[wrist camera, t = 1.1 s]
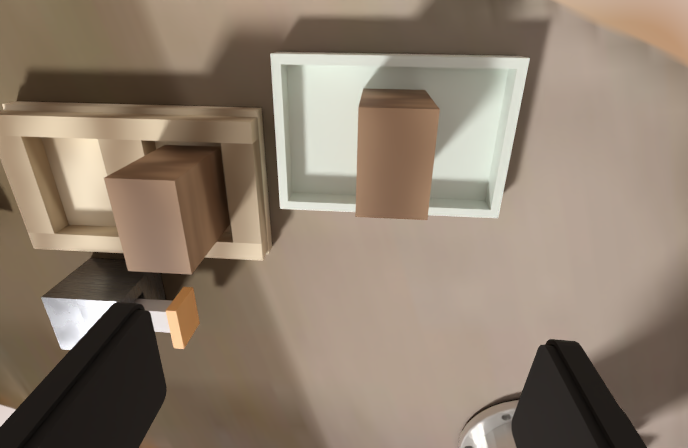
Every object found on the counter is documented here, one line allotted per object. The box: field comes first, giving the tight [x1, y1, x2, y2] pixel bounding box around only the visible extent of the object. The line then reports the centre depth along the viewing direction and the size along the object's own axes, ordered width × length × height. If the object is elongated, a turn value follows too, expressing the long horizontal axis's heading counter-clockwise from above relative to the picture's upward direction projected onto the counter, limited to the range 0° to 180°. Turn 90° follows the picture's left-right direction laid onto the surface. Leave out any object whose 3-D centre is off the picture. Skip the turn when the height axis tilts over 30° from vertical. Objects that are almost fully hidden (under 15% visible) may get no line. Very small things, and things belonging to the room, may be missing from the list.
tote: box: [270, 52, 530, 218], centre depth 27 cm, size 15×10×2 cm
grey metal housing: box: [41, 258, 166, 350], centre depth 33 cm, size 6×5×6 cm
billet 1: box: [104, 145, 230, 274], centre depth 26 cm, size 4×6×7 cm, turn 179°
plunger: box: [133, 287, 200, 349], centre depth 32 cm, size 5×4×3 cm
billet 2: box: [355, 88, 440, 220], centre depth 24 cm, size 4×6×7 cm, turn 179°
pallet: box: [0, 101, 272, 260], centre depth 30 cm, size 18×11×3 cm, turn 89°
